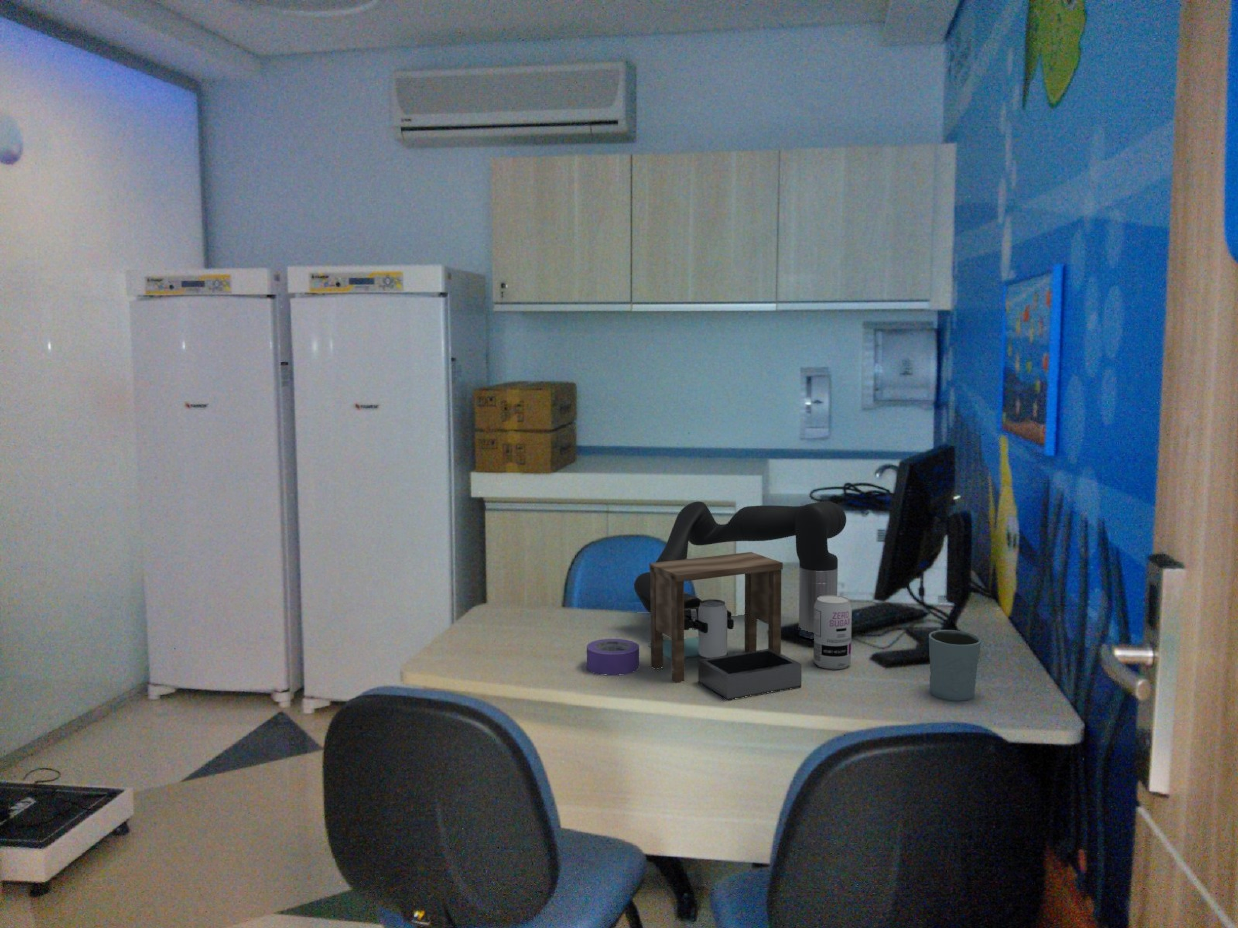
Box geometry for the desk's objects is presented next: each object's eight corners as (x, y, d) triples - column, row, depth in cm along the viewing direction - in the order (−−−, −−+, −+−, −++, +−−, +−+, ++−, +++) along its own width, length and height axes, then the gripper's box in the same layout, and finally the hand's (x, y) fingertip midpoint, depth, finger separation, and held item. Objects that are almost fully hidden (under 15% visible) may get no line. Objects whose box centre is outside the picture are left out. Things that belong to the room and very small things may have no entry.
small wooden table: (650, 665, 220) (649, 563, 217) (750, 649, 231) (751, 552, 228) (677, 683, 208) (676, 575, 206) (781, 665, 219) (782, 562, 216)
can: (708, 661, 216) (707, 608, 214) (693, 652, 222) (692, 601, 220) (732, 656, 219) (732, 604, 217) (717, 648, 224) (717, 597, 223)
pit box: (698, 682, 209) (698, 660, 208) (769, 670, 216) (769, 648, 215) (727, 700, 198) (727, 676, 197) (801, 687, 205) (801, 664, 205)
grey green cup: (935, 682, 207) (937, 627, 206) (985, 691, 202) (987, 634, 200) (920, 696, 199) (922, 639, 198) (971, 706, 193) (973, 647, 192)
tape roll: (639, 659, 225) (639, 638, 225) (639, 676, 214) (638, 653, 213) (588, 659, 226) (588, 638, 225) (585, 676, 214) (584, 653, 214)
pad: (648, 646, 235) (648, 644, 235) (699, 638, 241) (699, 636, 241) (671, 660, 224) (671, 658, 224) (724, 651, 230) (724, 650, 230)
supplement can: (826, 656, 225) (827, 592, 224) (857, 664, 220) (859, 599, 218) (806, 664, 220) (806, 599, 218) (837, 673, 214) (838, 606, 212)
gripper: (709, 620, 236) (746, 638, 221) (656, 627, 230) (690, 647, 215) (709, 589, 235) (746, 606, 220) (655, 596, 229) (690, 614, 214)
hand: (718, 626), depth 217 cm, fingers closed on can, 6 cm apart
